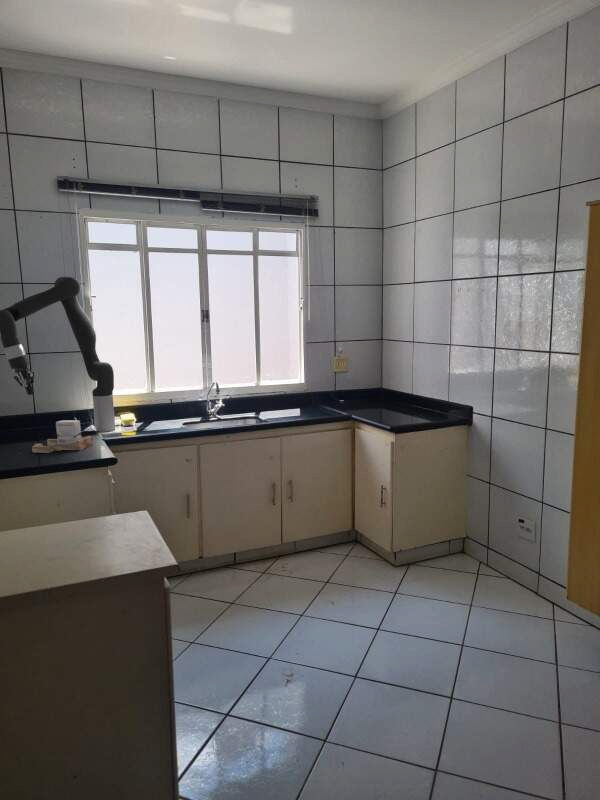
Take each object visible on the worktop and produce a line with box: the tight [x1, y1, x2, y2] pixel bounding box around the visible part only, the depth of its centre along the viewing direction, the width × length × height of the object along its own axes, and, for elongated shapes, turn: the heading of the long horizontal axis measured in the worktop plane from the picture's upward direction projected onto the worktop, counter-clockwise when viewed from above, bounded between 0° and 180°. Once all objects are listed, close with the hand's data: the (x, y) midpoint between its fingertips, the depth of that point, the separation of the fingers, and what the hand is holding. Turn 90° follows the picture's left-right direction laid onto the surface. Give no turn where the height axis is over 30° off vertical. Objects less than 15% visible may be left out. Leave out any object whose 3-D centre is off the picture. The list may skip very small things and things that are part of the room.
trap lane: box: [31, 435, 93, 454], centre depth 241 cm, size 19×20×4 cm
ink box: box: [55, 419, 82, 444], centre depth 239 cm, size 9×5×12 cm, turn 81°
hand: (31, 394), depth 248 cm, fingers closed
